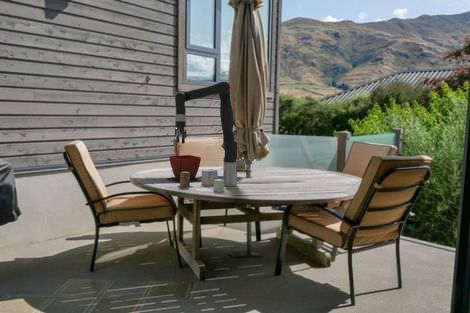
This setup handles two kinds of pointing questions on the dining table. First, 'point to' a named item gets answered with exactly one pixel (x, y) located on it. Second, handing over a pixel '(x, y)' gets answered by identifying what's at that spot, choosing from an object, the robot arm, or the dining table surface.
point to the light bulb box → (209, 176)
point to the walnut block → (185, 179)
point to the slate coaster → (184, 187)
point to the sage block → (218, 185)
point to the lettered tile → (203, 189)
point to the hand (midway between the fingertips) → (180, 143)
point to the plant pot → (185, 165)
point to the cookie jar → (240, 165)
